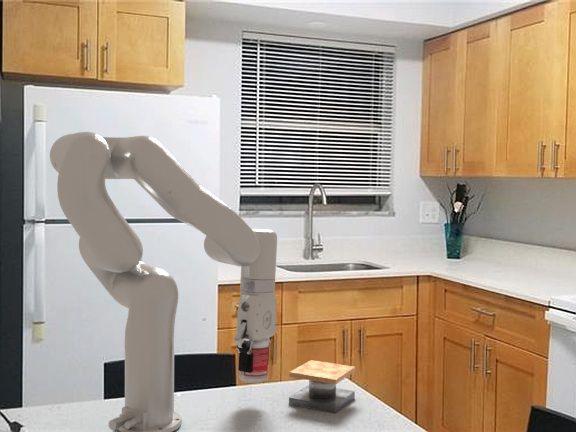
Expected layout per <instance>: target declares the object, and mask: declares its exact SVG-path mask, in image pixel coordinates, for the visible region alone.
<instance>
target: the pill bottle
mask: <svg viewBox="0 0 576 432" xmlns="http://www.w3.org/2000/svg"><path fill="white" fill-rule="evenodd" d="M246 338H248V339H250V338H249V336H246ZM245 343H246V344H247V346H248V345H249V342H245ZM268 351H269V352H270V347H269V343H268V341H267V340H266V339H263V340H261V341H257V342H255V341H254V345H253V349H252V353H251V354H253V371H252V372H251V373H248V372H242V371H239V370H238V371H239V372H238V377H239V379H240V380H241V381H242V382H244V383H251V384H258V383H259V384H260V383H263V382H266V381H267V380H268V374H269V373H268V372H269V371H268V367H269V362H268Z"/></svg>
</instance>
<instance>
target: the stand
mask: <svg viewBox="0 0 576 432" xmlns="http://www.w3.org/2000/svg"><path fill="white" fill-rule="evenodd" d="M355 372H356V366H352V365H346V364H340V363H333V362H327V361H320V360H313V359H310V360H309V361H307V362H305V363H303V364H301V365H300V366H297V367H296V368H294V369H292V370H290V371H289V374H288V375H289V378H295V379H303V380H308V385H306V386H305V387H303V388H301V389H299V391H297V392H295V393H294V394H292V395H290V396H289V397H288V405H290V406H295V407H300V408H304V409H305V408H306V409H310V410H316V411H320V412H325V413H332V414H337V413H338V412H339V411H340V410H342V409H343V408H344V407H345V406H347V405H348V404H349V403H351V402H353V400H355V397H356V395H355V390H349V389H343V388H338V387H337V384H339V383H340V382H341V381H343V380H345V379H346V378H348V377H349V376H351V375H352V374H353V373H355Z"/></svg>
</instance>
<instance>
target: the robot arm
mask: <svg viewBox="0 0 576 432" xmlns="http://www.w3.org/2000/svg"><path fill="white" fill-rule="evenodd" d="M49 151H50V152H49V160H50V163H51V166H52V167H53V169H54V170H55V171H56V172H57V173H58V175H57V182H56V183H57V185H56V186H57V199H58V202H59V205H60V208H61V211H62V212H63V214H64V216H65V217H66V219H67V221H68V222H69V224H70V226H72V228H73V230H74V231H75V232H76V234H77V235H78V236H79V238H78V239H79V241H78V249H79V253H80V256H81V258H82V260H83V261H84V263H85V264H86V266H87V267H88V268H89V270H90V271H91V272H92V273H93V275H94V276H95V278H96V279H97V280H98V281H99V283H101V285H102V286H103V288H104V289H105V290H106V291H107V292H108V294H109V295H110V296H111V297H112V298H113V299H114V300H115V301H116V302H117V303H118V304H120V305H121V306H122V307H124V308H127V309H128V314H127V318H126V325H125V330H124V331H125V332H124V406H123V407H121V414H119V416H117V417H115V418H113V419H111V420H109V421H108V428H109V429H110V430H112V431H115V430H118V431H119V432H174V431H176V430H177V429H179V428H180V427H181V426H182V416H181V415H180V414H179V412H176V411H175V324H176V316H177V315H176V314H177V309H178V303H179V288H178V285H177V282H176V281H175V279H174V277H173V276H172V275H171V274H170V273H169V272H167V271H166V270H165V269H162V268H160V267H157V266H154V265H150V264H146V263H145V262H144V261H143V252H144V248H143V244H142V242H141V238H140V237H139V236H138V234H137V232H136V231H135V230H134V228H132V227H131V225H130V224H129V222H128V221H127V220H126V218H125V217H124V216H123V214H122V213H121V212H120V211H119V208H117V206H116V204H115V203H114V202H113V200H112V198H111V196H110V194H109V193H108V190H107V188H106V187H107V186H106V180H134V181H135V182H136V183H137V184H138V185H139V186H140V187H141V188H142V189H143V190H145V192H146V193H147V194H148V195H149V196H151V197H150V198H152V199H153V200H154V201H155V202H156V203H157V204H158V205H159V206H160V207H161V208H162V209H163V210H164V211H165V212H166V213H167V214H168V215H169V216H171V217H173V218H174V219H175V220H177V221H179V222H181V223H183V224H185V225H187V226H189V227H192V228H194V229H196V230H197V231H199V232H200V233H202V234H204V235H205V238H204V241H203V249H204V252H205V253H206V254H207V256H208V257H209V258H211V260H213V261H216V262H218V263H223V264H226V265H232V266H235V267H240V283H239V284H240V285H239V292H240V294H239V295H240V297H239V300H238V301H239V302H238V309H237V315H236V334H235V336H234V338H233V341H234V343H235V345H236V348H237V353H238V368H237V369H238V371H242V372H248V373H251V372H252V371H253V354H251V353H252V349H253V345H254V341H255V342H257V341H261V340H263V339H266V340H267V341H268V343H269V348H270V347H271V339H272V337H273V336H274V335H275V334H276V331H277V301H276V293H275V290H276V272H277V271H276V269H277V250H278V236H277V233H276V232H275V230H272V229H265V228H251V227H250V226H249V225H248V224H247V223H246V221H245V220H244V219H243V218H242V217H241V216H240V215H239V214H238V213H237V212H236V211H234V210H233V209H232V208H231V207H230V206H228V205H227V204H226V203H225V202H223V201H222V200H220V199H219V198H218V197H216V196H215V194H213V193H212V192H210V191H209V190H207V189H206V188H205V187H204V186H202V185H201V184H200V183H198V182H197V181H196V180H195V178H194V177H193V176H192V175H191V174H190V173H189V172H188V171H187V170H186V169H185V168H184V166H182V165H181V164H180V162H179V161H178V160H177V159H176V158H175V157H174V156H173V155H172V154H171V153H170V152H169V151H168V149H166V147H164V145H163V144H162V143H161V142H160V141H158V140H157V139H156V138H154V137H151V136H149V135H136V136H126V137H121V136H120V137H113V136H112V137H110V136H109V137H108V136H101V135H99V134H98V133H95V132H91V131H80V132H75V133H68V134H65V135H62V136H60V137H59V138H58V139H56V140H55V141H54V143H52V146H51V148H50V150H49ZM246 336H249V338H250V339H248V338H246ZM245 342H249V345H248V346H247V344H246V343H245ZM269 359H270V350H269V351H268V363H269V362H270V360H269Z"/></svg>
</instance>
